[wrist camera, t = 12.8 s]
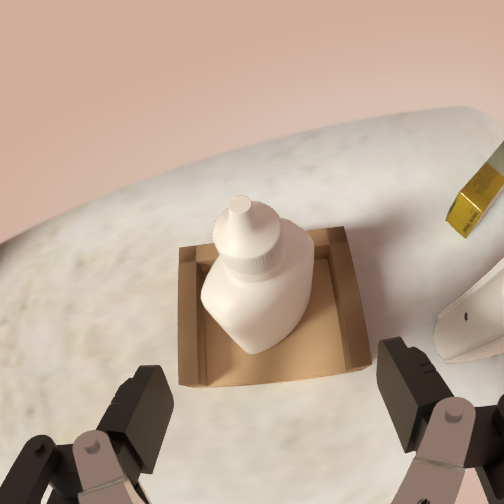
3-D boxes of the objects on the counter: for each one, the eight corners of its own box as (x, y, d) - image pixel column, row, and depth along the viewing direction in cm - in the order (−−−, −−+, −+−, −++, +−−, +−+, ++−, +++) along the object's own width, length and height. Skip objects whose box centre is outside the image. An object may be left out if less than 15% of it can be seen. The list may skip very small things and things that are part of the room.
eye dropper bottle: (221, 298, 21) (148, 182, 11) (301, 273, 21) (300, 136, 11) (237, 360, 19) (162, 296, 8) (323, 333, 19) (355, 235, 9)
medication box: (492, 162, 25) (506, 136, 22) (510, 178, 24) (525, 153, 20) (442, 220, 23) (458, 190, 19) (464, 241, 22) (484, 214, 18)
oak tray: (194, 387, 19) (178, 384, 17) (192, 266, 24) (179, 247, 21) (361, 370, 19) (372, 364, 16) (338, 247, 23) (343, 226, 20)
